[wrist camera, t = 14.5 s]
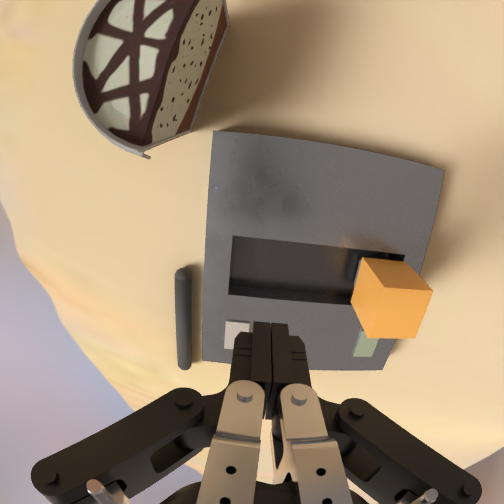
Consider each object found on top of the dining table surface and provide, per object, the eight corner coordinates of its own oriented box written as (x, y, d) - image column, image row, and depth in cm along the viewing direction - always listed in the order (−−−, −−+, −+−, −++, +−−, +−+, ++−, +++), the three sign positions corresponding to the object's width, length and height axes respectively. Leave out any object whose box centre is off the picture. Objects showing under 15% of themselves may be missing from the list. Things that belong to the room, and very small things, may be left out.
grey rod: (177, 264, 26) (172, 271, 25) (192, 266, 26) (189, 273, 25) (179, 362, 30) (176, 371, 29) (192, 364, 30) (190, 373, 29)
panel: (217, 130, 22) (212, 130, 20) (432, 166, 22) (445, 170, 20) (205, 347, 29) (201, 361, 27) (376, 357, 29) (382, 371, 27)
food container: (164, -1, 17) (116, -58, 8) (236, 10, 18) (221, -56, 9) (117, 133, 22) (40, 139, 13) (185, 150, 22) (135, 163, 13)
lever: (356, 249, 24) (384, 287, 18) (398, 254, 24) (433, 290, 18) (346, 292, 26) (367, 338, 20) (386, 295, 26) (414, 338, 20)
